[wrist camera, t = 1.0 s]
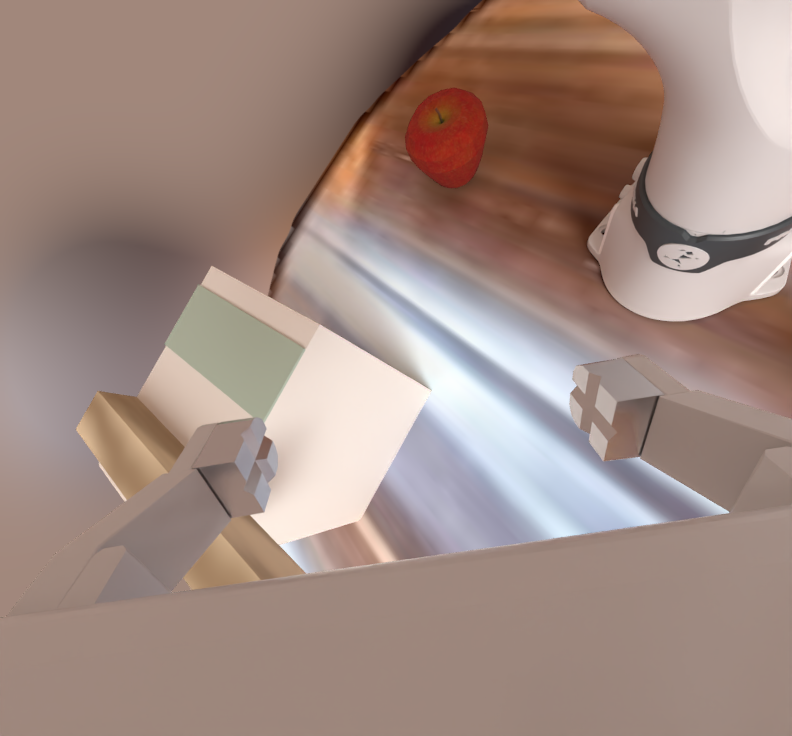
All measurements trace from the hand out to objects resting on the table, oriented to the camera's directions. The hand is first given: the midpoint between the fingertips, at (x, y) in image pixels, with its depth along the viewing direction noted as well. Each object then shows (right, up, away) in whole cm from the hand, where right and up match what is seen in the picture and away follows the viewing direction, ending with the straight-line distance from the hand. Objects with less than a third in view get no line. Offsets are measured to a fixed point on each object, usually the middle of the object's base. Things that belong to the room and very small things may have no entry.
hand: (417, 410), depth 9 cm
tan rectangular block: (-15, -8, +16) cm, 23 cm away
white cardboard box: (-6, -8, +42) cm, 43 cm away
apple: (+9, +31, +45) cm, 55 cm away
